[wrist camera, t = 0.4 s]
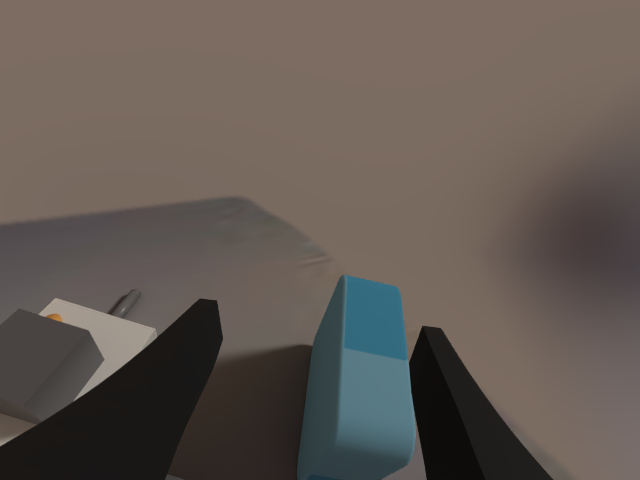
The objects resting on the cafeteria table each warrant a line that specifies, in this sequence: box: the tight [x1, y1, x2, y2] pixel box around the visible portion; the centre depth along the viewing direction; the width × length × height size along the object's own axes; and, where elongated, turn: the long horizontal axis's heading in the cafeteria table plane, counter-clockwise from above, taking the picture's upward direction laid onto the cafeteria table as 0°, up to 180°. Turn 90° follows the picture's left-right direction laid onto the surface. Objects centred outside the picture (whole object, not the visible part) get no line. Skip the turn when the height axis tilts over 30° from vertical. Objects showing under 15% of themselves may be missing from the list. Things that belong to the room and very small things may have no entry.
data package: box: [297, 275, 416, 480], centre depth 24 cm, size 12×4×12 cm, turn 174°
